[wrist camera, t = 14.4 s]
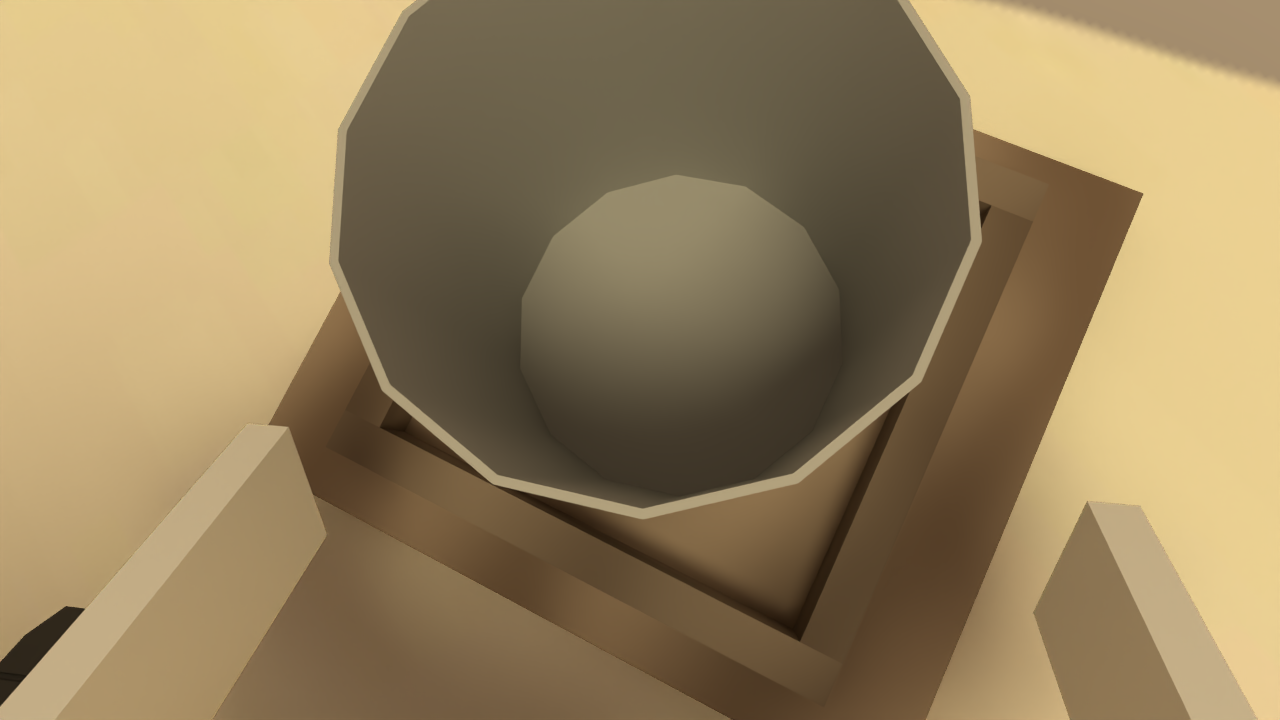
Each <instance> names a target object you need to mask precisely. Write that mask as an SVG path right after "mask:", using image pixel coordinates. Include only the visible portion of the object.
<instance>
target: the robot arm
mask: <svg viewBox="0 0 1280 720" xmlns="http://www.w3.org/2000/svg"><path fill="white" fill-rule="evenodd" d="M326 536H327V533H326V530H325V527H324V524H323V521H322V519H321V516H320V513H319V510H318V508H317V505H316V502H315V499H314V496H313V494H312V491H311V488H310V485H309V482H308V480H307V477H306V474H305V471H304V468H303V466H302V463H301V460H300V457H299V455H298V452H297V449H296V446H295V443H294V441H293V438H292V435H291V432H290V429H289V427H284V426H273V425H262V424H251V423H247V424H246V426H245V427H244V428H243V429H242V430H241V431H240V432H239V434H238V435H237V436H236V437H235V438H234V439H233V440H232V442H231V443H230V444H229V445H228V446H227V447H226V448H225V450H224V451H223V452H222V453H221V454H220V455H219V457H218V458H217V459H216V460H215V461H214V462H213V463H212V465H211V466H210V467H209V468H208V469H207V470H206V471H205V473H204V474H203V475H202V476H201V477H200V478H199V479H198V481H197V482H196V483H195V484H194V485H193V486H192V487H191V489H190V490H189V491H188V492H187V493H186V494H185V495H184V497H183V498H182V499H181V500H180V501H179V502H178V503H177V505H176V506H175V507H174V508H173V509H172V510H171V512H170V513H169V514H168V515H167V516H166V517H165V518H164V520H163V521H162V522H161V523H160V524H159V525H158V526H157V528H156V529H155V530H154V531H153V532H152V533H151V534H150V536H149V537H148V538H147V539H146V540H145V541H144V542H143V544H142V545H141V546H140V547H139V548H138V549H137V550H136V552H135V553H134V554H133V555H132V556H131V557H130V559H129V560H128V561H127V562H126V563H125V564H124V565H123V567H122V568H121V569H120V570H119V571H118V572H117V573H116V575H115V576H114V577H113V578H112V579H111V580H110V581H109V583H108V584H107V585H106V586H105V587H104V588H103V589H102V591H101V592H100V593H99V594H98V595H97V596H96V597H95V599H94V600H93V601H92V602H91V603H90V604H89V605H88V607H87V608H86V609H84V608H76V607H68V606H66V607H64V608H63V609H61V610H60V611H59V612H57V613H56V614H54V615H53V616H52V617H50V618H49V619H47V620H46V621H44V622H43V623H42V624H40V625H39V626H37V627H36V628H35V629H33V630H32V631H30V632H29V633H28V634H26V635H25V636H24V637H23V638H22V639H21V640H20V641H19V642H18V644H17V645H16V646H15V647H14V648H13V649H12V650H11V651H10V652H9V653H8V654H7V655H6V657H5V658H4V659H3V660H2V661H1V662H0V720H212V719H213V718H214V716H215V715H216V713H217V711H218V710H219V708H220V707H221V705H222V703H223V702H224V700H225V699H226V697H227V695H228V694H229V692H230V691H231V689H232V687H233V686H234V684H235V683H236V681H237V679H238V678H239V676H240V674H241V673H242V671H243V670H244V668H245V666H246V665H247V663H248V662H249V660H250V658H251V657H252V655H253V654H254V652H255V650H256V649H257V647H258V646H259V644H260V642H261V641H262V639H263V637H264V636H265V634H266V633H267V631H268V629H269V628H270V626H271V625H272V623H273V621H274V620H275V618H276V617H277V615H278V613H279V612H280V610H281V609H282V607H283V605H284V604H285V602H286V601H287V599H288V597H289V596H290V594H291V592H292V591H293V589H294V588H295V586H296V584H297V583H298V581H299V580H300V578H301V576H302V575H303V573H304V572H305V570H306V568H307V567H308V565H309V564H310V562H311V560H312V559H313V557H314V555H315V554H316V552H317V551H318V549H319V547H320V546H321V544H322V543H323V541H324V539H325V538H326ZM1034 615H1035V618H1036V621H1037V624H1038V627H1039V630H1040V633H1041V636H1042V639H1043V642H1044V645H1045V648H1046V651H1047V653H1048V656H1049V659H1050V662H1051V665H1052V668H1053V671H1054V674H1055V677H1056V680H1057V683H1058V686H1059V689H1060V692H1061V695H1062V698H1063V701H1064V704H1065V706H1066V709H1067V712H1068V715H1069V718H1070V720H1258V719H1257V717H1256V715H1255V714H1254V712H1253V710H1252V708H1251V706H1250V704H1249V703H1248V701H1247V699H1246V697H1245V695H1244V694H1243V692H1242V690H1241V688H1240V686H1239V684H1238V683H1237V681H1236V679H1235V677H1234V675H1233V674H1232V672H1231V670H1230V668H1229V666H1228V664H1227V663H1226V661H1225V659H1224V657H1223V655H1222V654H1221V652H1220V650H1219V648H1218V646H1217V644H1216V643H1215V641H1214V639H1213V637H1212V635H1211V634H1210V632H1209V630H1208V628H1207V626H1206V624H1205V623H1204V621H1203V619H1202V617H1201V615H1200V614H1199V612H1198V610H1197V608H1196V606H1195V604H1194V603H1193V601H1192V599H1191V597H1190V595H1189V594H1188V592H1187V590H1186V588H1185V586H1184V585H1183V583H1182V581H1181V579H1180V577H1179V575H1178V574H1177V572H1176V570H1175V568H1174V566H1173V565H1172V563H1171V561H1170V559H1169V557H1168V555H1167V554H1166V552H1165V550H1164V548H1163V546H1162V545H1161V543H1160V541H1159V539H1158V537H1157V535H1156V534H1155V532H1154V530H1153V528H1152V526H1151V525H1150V523H1149V521H1148V519H1147V517H1146V515H1145V514H1144V512H1143V510H1142V508H1141V506H1136V505H1125V504H1114V503H1103V502H1092V501H1087V503H1086V505H1085V507H1084V509H1083V511H1082V513H1081V515H1080V517H1079V519H1078V521H1077V523H1076V525H1075V527H1074V529H1073V532H1072V534H1071V536H1070V538H1069V540H1068V542H1067V544H1066V546H1065V548H1064V550H1063V552H1062V554H1061V556H1060V558H1059V560H1058V563H1057V565H1056V567H1055V569H1054V571H1053V573H1052V575H1051V577H1050V579H1049V581H1048V583H1047V585H1046V587H1045V589H1044V591H1043V594H1042V596H1041V598H1040V600H1039V602H1038V604H1037V606H1036V608H1035V610H1034Z"/></svg>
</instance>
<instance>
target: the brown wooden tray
mask: <svg viewBox="0 0 1280 720" xmlns="http://www.w3.org/2000/svg"><path fill="white" fill-rule="evenodd" d="M973 137H974V149H975V162H976V174H977V186H978V198H979V211H980V223H981V235H982V243H981V245H980V247H979V250H978V252H977V254H976V257H975V259H974V261H973V263H972V266H971V268H970V270H969V273H968V275H967V277H966V280H965V282H964V284H963V287H962V289H961V291H960V294H959V296H958V298H957V300H956V303H955V305H954V307H953V310H952V312H951V314H950V317H949V319H948V321H947V324H946V326H945V328H944V331H943V333H942V335H941V338H940V340H939V342H938V344H937V347H936V349H935V351H934V354H933V356H932V358H931V361H930V363H929V365H928V368H927V370H926V372H925V375H924V377H923V379H922V381H921V383H919V384H918V385H917V386H916V387H915V388H913V389H912V390H911V391H910V392H909V393H907V394H906V395H905V396H904V397H902V398H901V399H900V400H899V401H898V402H896V403H895V404H894V405H893V406H892V407H890V408H889V409H888V410H887V411H885V412H884V413H883V414H882V415H881V416H879V417H878V418H877V419H876V420H875V421H873V422H872V423H871V424H870V425H868V426H867V427H866V428H865V429H864V430H862V431H861V432H860V433H859V434H858V435H856V436H855V437H854V438H853V439H851V440H850V441H849V442H848V443H847V444H845V445H844V446H843V447H842V448H841V449H839V450H838V451H837V452H836V453H834V454H833V455H832V456H831V457H830V458H828V459H827V460H826V461H825V462H824V463H822V464H821V465H820V466H819V467H817V468H816V469H815V470H814V471H813V472H811V473H810V474H809V475H808V476H807V477H805V478H804V479H803V480H802V481H801V482H799V483H797V484H793V485H789V486H784V487H780V488H776V489H772V490H767V491H763V492H759V493H754V494H750V495H746V496H742V497H737V498H733V499H729V500H724V501H720V502H716V503H712V504H707V505H703V506H699V507H694V508H690V509H686V510H682V511H677V512H673V513H669V514H664V515H660V516H656V517H652V518H647V519H643V520H642V519H638V518H634V517H630V516H625V515H621V514H617V513H613V512H608V511H604V510H600V509H596V508H591V507H587V506H583V505H579V504H574V503H570V502H566V501H562V500H557V499H553V498H549V497H545V496H540V495H536V494H532V493H528V492H523V491H519V490H515V489H511V488H506V487H502V486H498V485H494V484H492V483H491V482H490V481H488V480H487V479H486V478H485V477H484V476H482V475H481V474H480V473H479V472H478V471H477V470H475V469H474V468H473V467H472V466H471V465H469V464H468V463H467V462H466V461H465V460H464V459H462V458H461V457H460V456H459V455H458V454H456V453H455V452H454V451H453V450H452V449H450V448H449V447H448V446H447V445H446V444H445V443H443V442H442V441H441V440H440V439H439V438H437V437H436V436H435V435H434V434H433V433H432V432H430V431H429V430H428V429H427V428H426V427H424V426H423V425H422V424H421V423H420V422H419V421H417V420H416V419H415V418H414V417H413V416H411V415H410V414H409V413H408V412H407V411H405V410H404V409H403V408H402V407H401V406H400V405H398V404H397V403H396V402H395V401H394V400H392V399H391V398H390V397H389V396H388V395H387V394H385V393H384V392H383V391H382V389H381V387H380V384H379V382H378V380H377V377H376V375H375V372H374V370H373V368H372V365H371V363H370V360H369V358H368V356H367V353H366V351H365V348H364V346H363V344H362V341H361V339H360V336H359V334H358V332H357V329H356V327H355V324H354V322H353V320H352V317H351V315H350V312H349V310H348V308H347V305H346V303H345V300H344V298H343V296H342V293H341V292H340V294H339V295H338V297H337V299H336V301H335V303H334V305H333V307H332V308H331V310H330V312H329V314H328V316H327V318H326V320H325V321H324V323H323V325H322V327H321V329H320V331H319V333H318V334H317V336H316V338H315V340H314V342H313V344H312V346H311V347H310V349H309V351H308V353H307V355H306V357H305V359H304V360H303V362H302V364H301V366H300V368H299V370H298V371H297V373H296V375H295V377H294V379H293V381H292V383H291V384H290V386H289V388H288V390H287V392H286V394H285V396H284V397H283V399H282V401H281V403H280V405H279V407H278V409H277V410H276V412H275V414H274V416H273V418H272V420H271V422H270V423H269V425H273V426H284V427H289V429H290V432H291V435H292V438H293V441H294V443H295V446H296V449H297V452H298V455H299V457H300V460H301V463H302V466H303V468H304V471H305V474H306V477H307V480H308V482H309V485H310V488H311V491H312V494H313V495H315V496H317V497H319V498H321V499H323V500H325V501H326V502H328V503H330V504H332V505H334V506H336V507H338V508H339V509H341V510H343V511H345V512H347V513H349V514H351V515H353V516H354V517H356V518H358V519H360V520H362V521H364V522H366V523H367V524H369V525H371V526H373V527H375V528H377V529H379V530H380V531H382V532H384V533H386V534H388V535H390V536H392V537H394V538H395V539H397V540H399V541H401V542H403V543H405V544H407V545H408V546H410V547H412V548H414V549H416V550H418V551H420V552H421V553H423V554H425V555H427V556H429V557H431V558H433V559H435V560H436V561H438V562H440V563H442V564H444V565H446V566H448V567H449V568H451V569H453V570H455V571H457V572H459V573H461V574H462V575H464V576H466V577H468V578H470V579H472V580H474V581H476V582H477V583H479V584H481V585H483V586H485V587H487V588H489V589H490V590H492V591H494V592H496V593H498V594H500V595H502V596H503V597H505V598H507V599H509V600H511V601H513V602H515V603H517V604H518V605H520V606H522V607H524V608H526V609H528V610H530V611H531V612H533V613H535V614H537V615H539V616H541V617H543V618H544V619H546V620H548V621H550V622H552V623H554V624H556V625H558V626H559V627H561V628H563V629H565V630H567V631H569V632H571V633H572V634H574V635H576V636H578V637H580V638H582V639H584V640H585V641H587V642H589V643H591V644H593V645H595V646H597V647H599V648H600V649H602V650H604V651H606V652H608V653H610V654H612V655H613V656H615V657H617V658H619V659H621V660H623V661H625V662H626V663H628V664H630V665H632V666H634V667H636V668H638V669H640V670H641V671H643V672H645V673H647V674H649V675H651V676H653V677H654V678H656V679H658V680H660V681H662V682H664V683H666V684H667V685H669V686H671V687H673V688H675V689H677V690H679V691H681V692H682V693H684V694H686V695H688V696H690V697H692V698H694V699H695V700H697V701H699V702H701V703H703V704H705V705H707V706H708V707H710V708H712V709H714V710H716V711H718V712H720V713H722V714H723V715H725V716H727V717H729V718H731V719H733V720H926V717H927V715H928V712H929V710H930V707H931V705H932V703H933V700H934V698H935V695H936V693H937V691H938V688H939V686H940V683H941V681H942V678H943V676H944V674H945V671H946V669H947V666H948V664H949V662H950V659H951V657H952V654H953V652H954V650H955V647H956V645H957V642H958V640H959V637H960V635H961V633H962V630H963V628H964V625H965V623H966V621H967V618H968V616H969V613H970V611H971V608H972V606H973V604H974V601H975V599H976V596H977V594H978V592H979V589H980V587H981V584H982V582H983V579H984V577H985V575H986V572H987V570H988V567H989V565H990V563H991V560H992V558H993V555H994V553H995V551H996V548H997V546H998V543H999V541H1000V538H1001V536H1002V534H1003V531H1004V529H1005V526H1006V524H1007V522H1008V519H1009V517H1010V514H1011V512H1012V509H1013V507H1014V505H1015V502H1016V500H1017V497H1018V495H1019V493H1020V490H1021V488H1022V485H1023V483H1024V480H1025V478H1026V476H1027V473H1028V471H1029V468H1030V466H1031V464H1032V461H1033V459H1034V456H1035V454H1036V452H1037V449H1038V447H1039V444H1040V442H1041V439H1042V437H1043V435H1044V432H1045V430H1046V427H1047V425H1048V423H1049V420H1050V418H1051V415H1052V413H1053V410H1054V408H1055V406H1056V403H1057V401H1058V398H1059V396H1060V394H1061V391H1062V389H1063V386H1064V384H1065V381H1066V379H1067V377H1068V374H1069V372H1070V369H1071V367H1072V365H1073V362H1074V360H1075V357H1076V355H1077V353H1078V350H1079V348H1080V345H1081V343H1082V340H1083V338H1084V336H1085V333H1086V331H1087V328H1088V326H1089V324H1090V321H1091V319H1092V316H1093V314H1094V311H1095V309H1096V307H1097V304H1098V302H1099V299H1100V297H1101V295H1102V292H1103V290H1104V287H1105V285H1106V282H1107V280H1108V278H1109V275H1110V273H1111V270H1112V268H1113V266H1114V263H1115V261H1116V258H1117V256H1118V254H1119V251H1120V249H1121V246H1122V244H1123V241H1124V239H1125V237H1126V234H1127V232H1128V229H1129V227H1130V225H1131V222H1132V220H1133V217H1134V215H1135V212H1136V210H1137V208H1138V205H1139V203H1140V200H1141V198H1142V196H1143V193H1140V192H1138V191H1135V190H1132V189H1130V188H1127V187H1125V186H1122V185H1119V184H1117V183H1114V182H1111V181H1109V180H1106V179H1103V178H1101V177H1098V176H1095V175H1093V174H1090V173H1087V172H1085V171H1082V170H1079V169H1077V168H1074V167H1072V166H1069V165H1066V164H1064V163H1061V162H1058V161H1056V160H1053V159H1050V158H1048V157H1045V156H1042V155H1040V154H1037V153H1034V152H1032V151H1029V150H1026V149H1024V148H1021V147H1019V146H1016V145H1013V144H1011V143H1008V142H1005V141H1003V140H1000V139H997V138H995V137H992V136H989V135H987V134H984V133H981V132H979V131H976V130H973Z"/></svg>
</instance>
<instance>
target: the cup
mask: <svg viewBox="0 0 1280 720" xmlns="http://www.w3.org/2000/svg"><path fill="white" fill-rule="evenodd" d="M981 243H982V235H981V223H980V211H979V198H978V186H977V174H976V162H975V149H974V137H973V125H972V113H971V100H970V95H969V94H968V92H967V91H966V89H965V88H964V86H963V84H962V83H961V81H960V80H959V78H958V77H957V75H956V73H955V72H954V70H953V69H952V67H951V66H950V64H949V62H948V61H947V59H946V58H945V56H944V55H943V53H942V51H941V50H940V48H939V47H938V45H937V44H936V42H935V41H934V39H933V37H932V36H931V34H930V33H929V31H928V30H927V28H926V26H925V25H924V23H923V22H922V20H921V19H920V17H919V15H918V14H917V12H916V11H915V9H914V8H913V6H912V4H911V3H910V1H909V0H416V1H415V2H414V3H412V4H411V5H410V6H409V7H407V8H406V9H405V10H404V11H402V13H401V15H400V17H399V19H398V20H397V22H396V24H395V26H394V28H393V30H392V31H391V33H390V35H389V37H388V39H387V41H386V42H385V44H384V46H383V48H382V50H381V52H380V53H379V55H378V57H377V59H376V61H375V63H374V64H373V66H372V68H371V70H370V72H369V74H368V75H367V77H366V79H365V81H364V83H363V85H362V86H361V88H360V90H359V92H358V94H357V96H356V97H355V99H354V101H353V103H352V105H351V107H350V108H349V110H348V112H347V114H346V116H345V118H344V119H343V121H342V123H341V125H340V127H339V129H338V139H337V154H336V169H335V184H334V199H333V214H332V228H331V243H330V258H329V264H330V267H331V269H332V271H333V274H334V276H335V279H336V281H337V284H338V286H339V288H340V291H341V293H342V296H343V298H344V300H345V303H346V305H347V308H348V310H349V312H350V315H351V317H352V320H353V322H354V324H355V327H356V329H357V332H358V334H359V336H360V339H361V341H362V344H363V346H364V348H365V351H366V353H367V356H368V358H369V360H370V363H371V365H372V368H373V370H374V372H375V375H376V377H377V380H378V382H379V384H380V387H381V389H382V391H383V392H384V393H385V394H387V395H388V396H389V397H390V398H391V399H392V400H394V401H395V402H396V403H397V404H398V405H400V406H401V407H402V408H403V409H404V410H405V411H407V412H408V413H409V414H410V415H411V416H413V417H414V418H415V419H416V420H417V421H419V422H420V423H421V424H422V425H423V426H424V427H426V428H427V429H428V430H429V431H430V432H432V433H433V434H434V435H435V436H436V437H437V438H439V439H440V440H441V441H442V442H443V443H445V444H446V445H447V446H448V447H449V448H450V449H452V450H453V451H454V452H455V453H456V454H458V455H459V456H460V457H461V458H462V459H464V460H465V461H466V462H467V463H468V464H469V465H471V466H472V467H473V468H474V469H475V470H477V471H478V472H479V473H480V474H481V475H482V476H484V477H485V478H486V479H487V480H488V481H490V482H491V483H492V484H494V485H498V486H502V487H506V488H511V489H515V490H519V491H523V492H528V493H532V494H536V495H540V496H545V497H549V498H553V499H557V500H562V501H566V502H570V503H574V504H579V505H583V506H587V507H591V508H596V509H600V510H604V511H608V512H613V513H617V514H621V515H625V516H630V517H634V518H638V519H642V520H643V519H647V518H652V517H656V516H660V515H664V514H669V513H673V512H677V511H682V510H686V509H690V508H694V507H699V506H703V505H707V504H712V503H716V502H720V501H724V500H729V499H733V498H737V497H742V496H746V495H750V494H754V493H759V492H763V491H767V490H772V489H776V488H780V487H784V486H789V485H793V484H797V483H799V482H801V481H802V480H803V479H804V478H805V477H807V476H808V475H809V474H810V473H811V472H813V471H814V470H815V469H816V468H817V467H819V466H820V465H821V464H822V463H824V462H825V461H826V460H827V459H828V458H830V457H831V456H832V455H833V454H834V453H836V452H837V451H838V450H839V449H841V448H842V447H843V446H844V445H845V444H847V443H848V442H849V441H850V440H851V439H853V438H854V437H855V436H856V435H858V434H859V433H860V432H861V431H862V430H864V429H865V428H866V427H867V426H868V425H870V424H871V423H872V422H873V421H875V420H876V419H877V418H878V417H879V416H881V415H882V414H883V413H884V412H885V411H887V410H888V409H889V408H890V407H892V406H893V405H894V404H895V403H896V402H898V401H899V400H900V399H901V398H902V397H904V396H905V395H906V394H907V393H909V392H910V391H911V390H912V389H913V388H915V387H916V386H917V385H918V384H919V383H921V381H922V379H923V377H924V375H925V372H926V370H927V368H928V365H929V363H930V361H931V358H932V356H933V354H934V351H935V349H936V347H937V344H938V342H939V340H940V338H941V335H942V333H943V331H944V328H945V326H946V324H947V321H948V319H949V317H950V314H951V312H952V310H953V307H954V305H955V303H956V300H957V298H958V296H959V294H960V291H961V289H962V287H963V284H964V282H965V280H966V277H967V275H968V273H969V270H970V268H971V266H972V263H973V261H974V259H975V257H976V254H977V252H978V250H979V247H980V245H981Z"/></svg>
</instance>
